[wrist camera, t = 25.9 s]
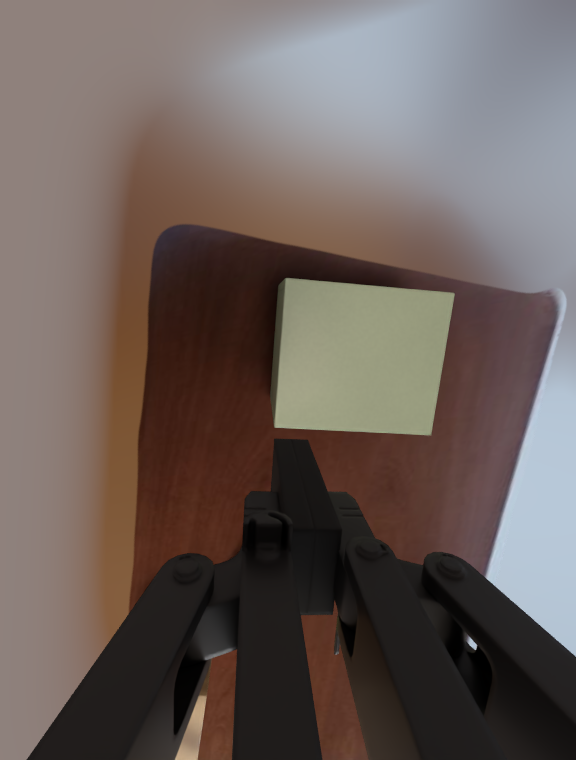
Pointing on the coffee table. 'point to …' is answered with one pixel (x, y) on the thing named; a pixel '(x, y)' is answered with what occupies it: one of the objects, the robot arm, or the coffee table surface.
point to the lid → (360, 357)
